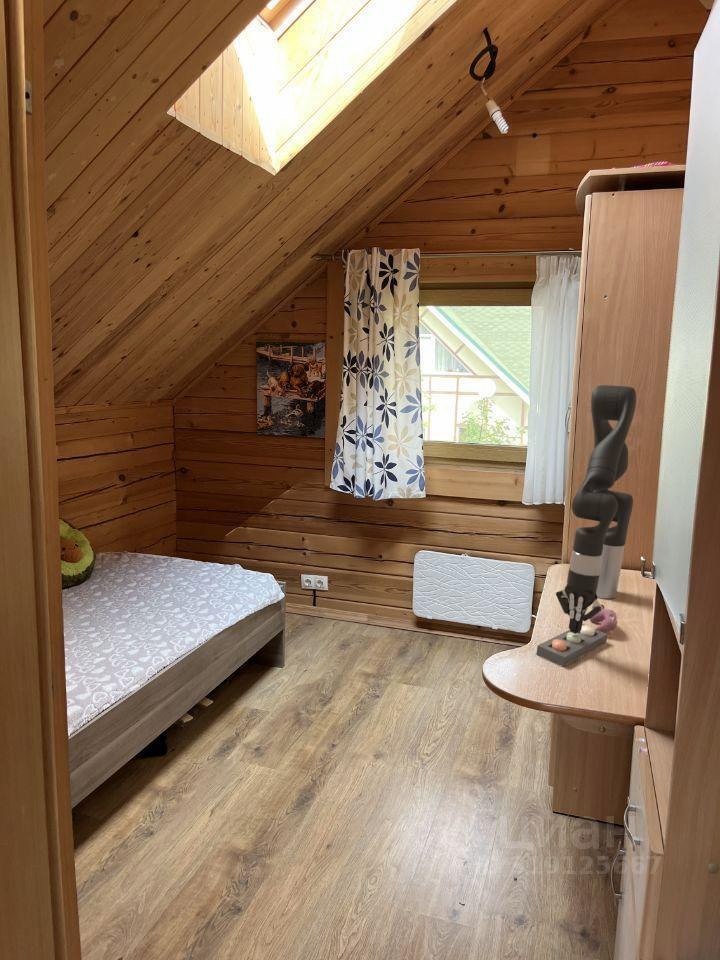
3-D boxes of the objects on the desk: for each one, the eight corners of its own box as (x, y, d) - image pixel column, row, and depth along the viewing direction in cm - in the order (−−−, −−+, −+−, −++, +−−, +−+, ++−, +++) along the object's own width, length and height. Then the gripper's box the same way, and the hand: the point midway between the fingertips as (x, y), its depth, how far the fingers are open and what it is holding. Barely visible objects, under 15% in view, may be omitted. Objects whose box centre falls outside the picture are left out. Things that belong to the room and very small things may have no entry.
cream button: (583, 632, 185) (585, 624, 184) (596, 637, 182) (597, 629, 182) (576, 636, 182) (578, 627, 182) (589, 641, 180) (590, 632, 179)
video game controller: (607, 643, 186) (622, 623, 184) (592, 633, 186) (608, 614, 184) (601, 627, 196) (616, 609, 194) (588, 619, 196) (602, 600, 194)
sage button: (570, 639, 180) (571, 631, 179) (582, 644, 178) (584, 636, 177) (563, 643, 178) (564, 634, 177) (575, 648, 175) (577, 639, 175)
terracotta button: (556, 646, 175) (557, 638, 175) (568, 652, 173) (570, 643, 172) (548, 650, 173) (549, 641, 172) (561, 656, 170) (562, 647, 170)
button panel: (580, 632, 188) (581, 623, 187) (606, 642, 183) (607, 634, 182) (536, 654, 173) (537, 645, 172) (563, 666, 168) (564, 657, 167)
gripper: (553, 563, 175) (544, 626, 179) (601, 580, 166) (590, 645, 170) (568, 558, 180) (559, 619, 184) (616, 574, 171) (605, 638, 175)
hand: (574, 632), depth 177 cm, fingers closed
